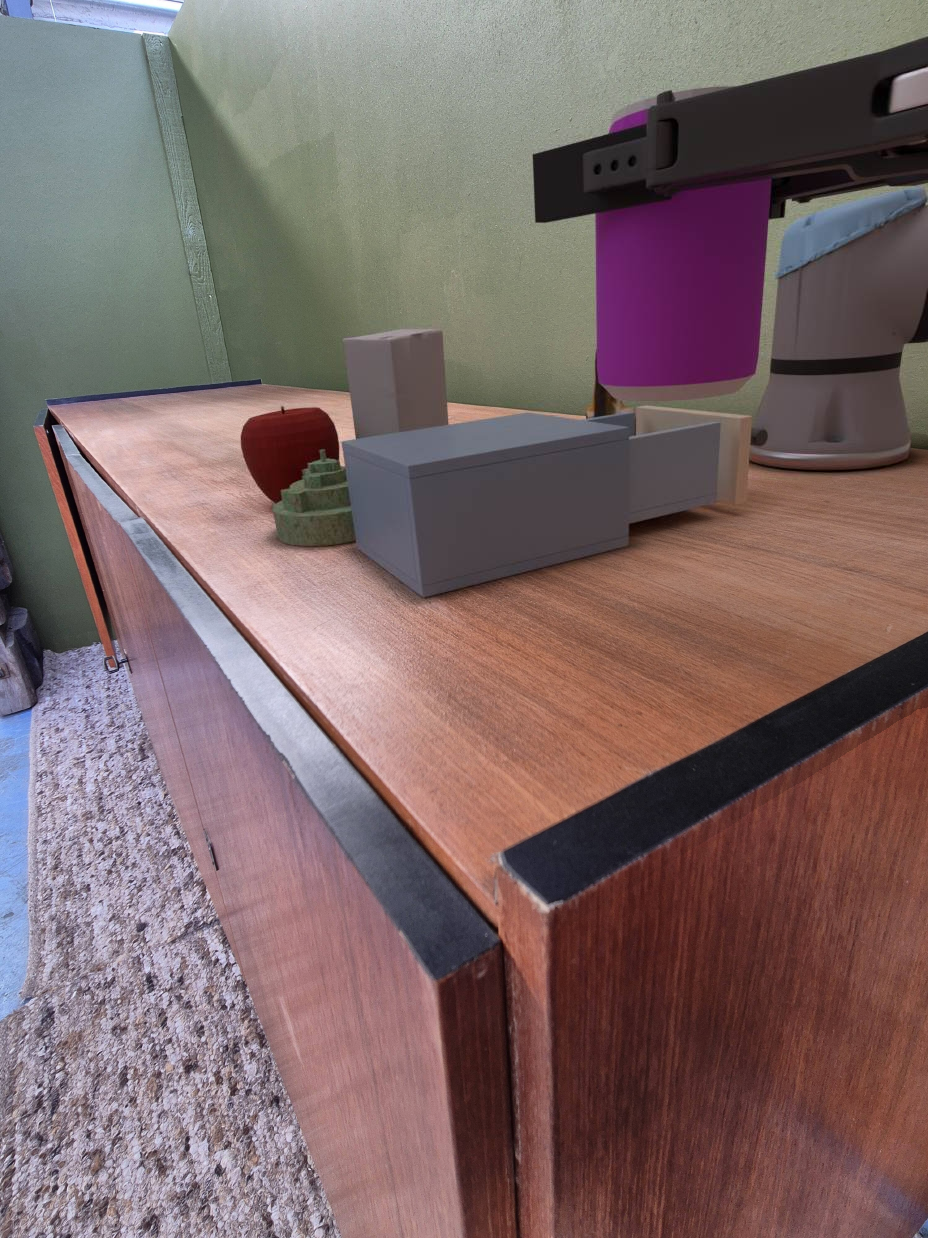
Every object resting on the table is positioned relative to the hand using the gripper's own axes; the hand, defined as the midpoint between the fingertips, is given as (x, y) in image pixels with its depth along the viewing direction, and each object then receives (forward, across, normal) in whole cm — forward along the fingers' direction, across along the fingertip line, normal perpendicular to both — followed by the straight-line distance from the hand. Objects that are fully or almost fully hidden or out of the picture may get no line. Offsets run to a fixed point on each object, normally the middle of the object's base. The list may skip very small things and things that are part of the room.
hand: (591, 193), depth 35 cm
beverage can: (-5, 0, -10) cm, 11 cm away
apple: (+40, +6, -22) cm, 46 cm away
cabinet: (+13, +4, -22) cm, 26 cm away
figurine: (+18, +31, -22) cm, 42 cm away
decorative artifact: (+29, +2, -22) cm, 36 cm away
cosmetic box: (+33, +15, -22) cm, 43 cm away
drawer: (+8, +18, -21) cm, 29 cm away
